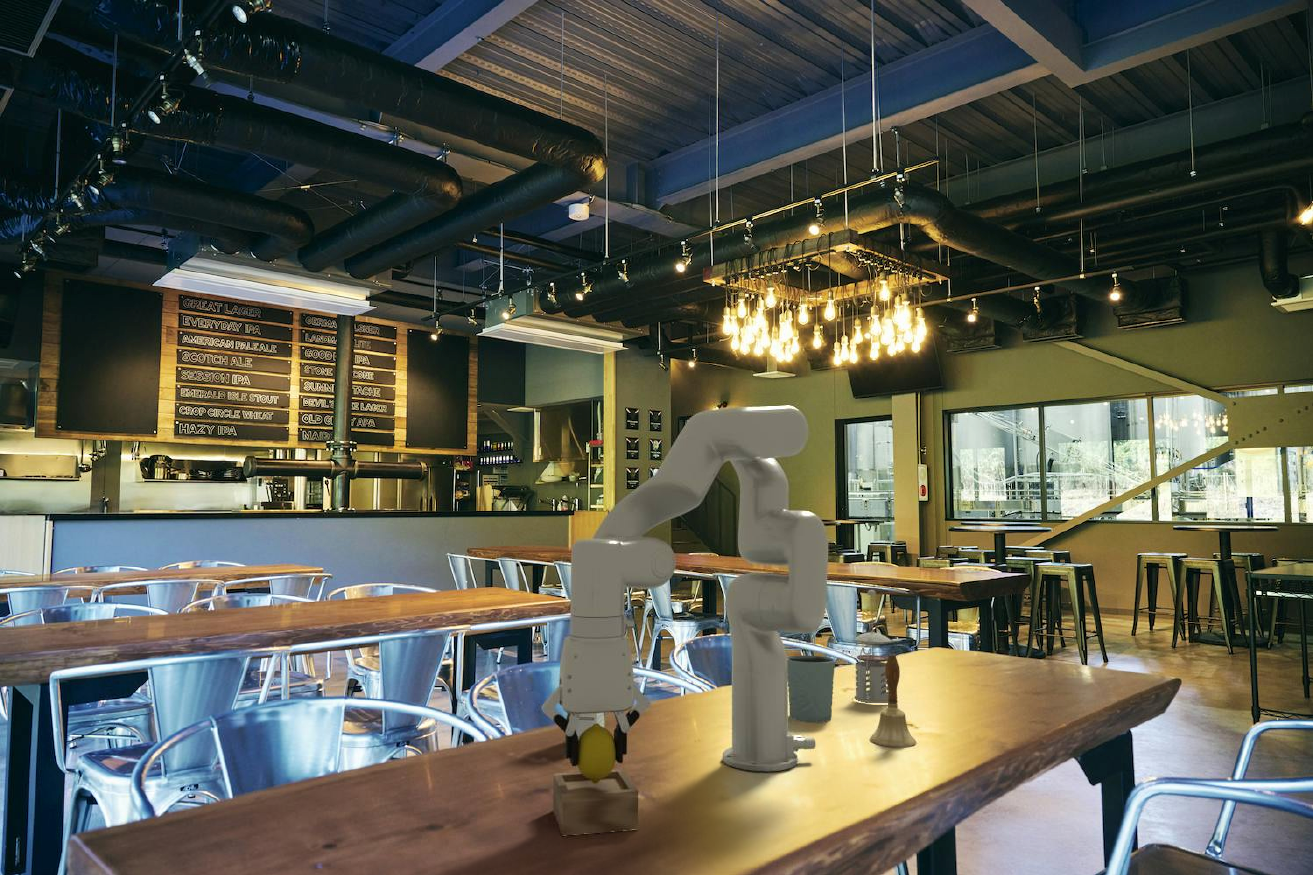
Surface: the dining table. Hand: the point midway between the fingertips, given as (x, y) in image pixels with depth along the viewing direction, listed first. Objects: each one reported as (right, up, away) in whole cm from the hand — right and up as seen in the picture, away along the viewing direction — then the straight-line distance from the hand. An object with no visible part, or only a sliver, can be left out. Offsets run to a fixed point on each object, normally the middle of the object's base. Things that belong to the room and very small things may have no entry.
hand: (596, 760), depth 115 cm
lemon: (0, -3, 0) cm, 3 cm away
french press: (+57, -16, +75) cm, 95 cm away
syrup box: (-5, -12, +38) cm, 40 cm away
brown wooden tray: (0, -8, -1) cm, 8 cm away
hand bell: (+52, -12, +41) cm, 67 cm away
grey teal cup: (+41, -14, +59) cm, 73 cm away
